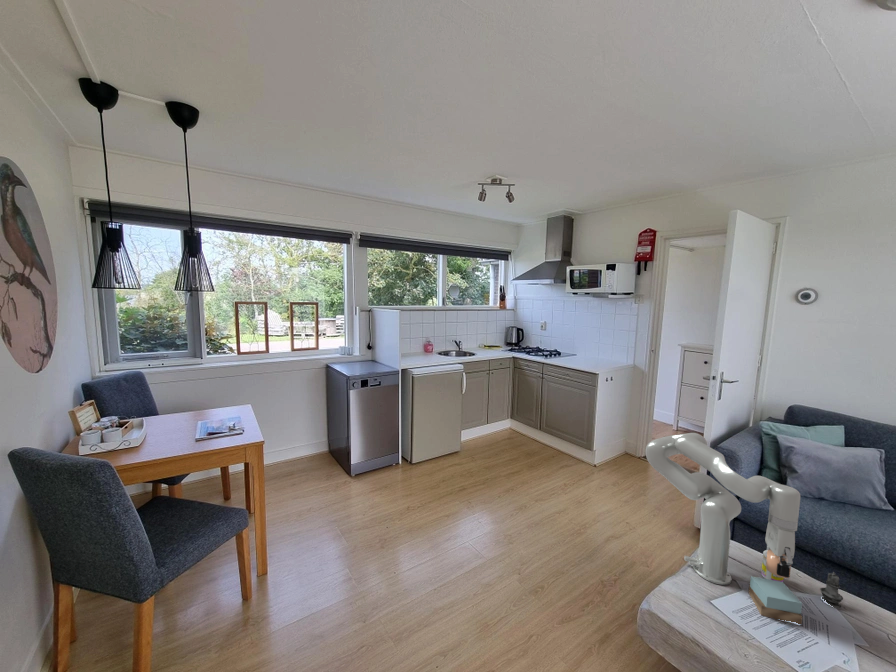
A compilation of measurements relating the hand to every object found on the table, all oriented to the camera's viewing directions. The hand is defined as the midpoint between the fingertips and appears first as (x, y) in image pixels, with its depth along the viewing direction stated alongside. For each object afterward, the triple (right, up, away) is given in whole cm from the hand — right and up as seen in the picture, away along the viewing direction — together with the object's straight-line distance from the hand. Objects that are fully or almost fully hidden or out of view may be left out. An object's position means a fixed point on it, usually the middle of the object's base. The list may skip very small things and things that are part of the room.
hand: (777, 568), depth 128 cm
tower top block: (-1, -11, +1) cm, 11 cm away
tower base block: (-1, -15, +1) cm, 15 cm away
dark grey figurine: (+24, -16, +5) cm, 29 cm away
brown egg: (0, -1, 0) cm, 1 cm away
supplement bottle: (+12, -15, +16) cm, 25 cm away
